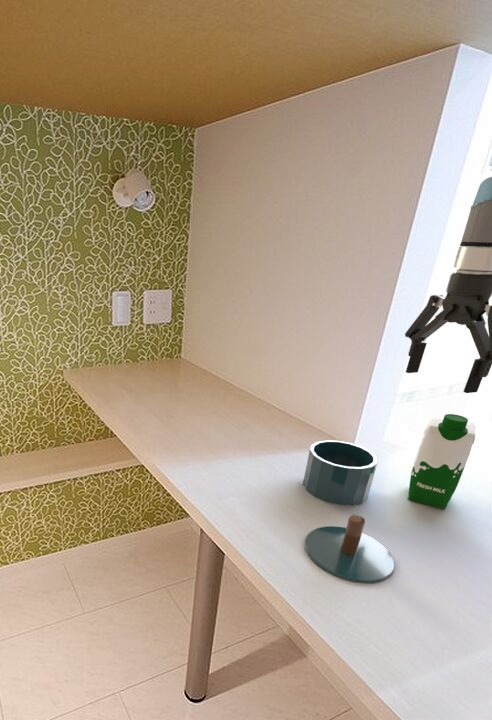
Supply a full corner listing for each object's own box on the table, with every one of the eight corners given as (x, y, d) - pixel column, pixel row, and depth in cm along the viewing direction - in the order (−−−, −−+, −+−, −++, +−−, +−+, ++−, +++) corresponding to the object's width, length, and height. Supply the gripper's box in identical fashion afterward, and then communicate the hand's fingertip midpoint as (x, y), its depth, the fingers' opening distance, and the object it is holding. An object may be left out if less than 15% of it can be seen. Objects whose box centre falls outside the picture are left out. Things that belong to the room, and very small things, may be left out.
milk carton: (402, 500, 96) (430, 416, 87) (407, 482, 103) (432, 403, 94) (449, 513, 92) (483, 426, 83) (450, 494, 98) (482, 412, 90)
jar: (380, 500, 96) (392, 462, 91) (331, 512, 91) (340, 472, 87) (336, 472, 107) (344, 437, 103) (290, 480, 103) (297, 444, 99)
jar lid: (412, 574, 75) (426, 535, 71) (344, 594, 70) (356, 555, 67) (348, 525, 87) (358, 490, 84) (287, 540, 83) (294, 503, 79)
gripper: (564, 279, 72) (513, 400, 81) (432, 267, 93) (403, 364, 102) (533, 279, 69) (484, 403, 79) (404, 267, 91) (378, 366, 100)
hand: (438, 381), depth 90 cm, fingers open, 13 cm apart
